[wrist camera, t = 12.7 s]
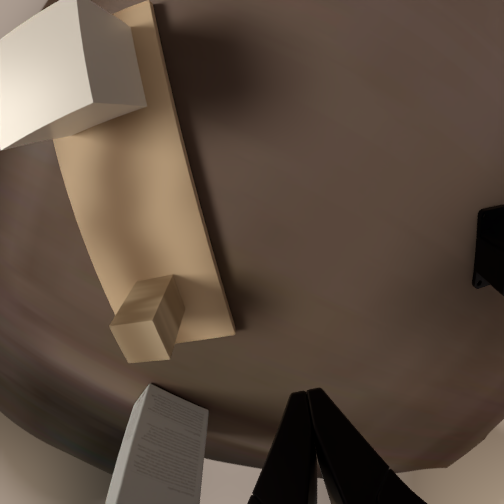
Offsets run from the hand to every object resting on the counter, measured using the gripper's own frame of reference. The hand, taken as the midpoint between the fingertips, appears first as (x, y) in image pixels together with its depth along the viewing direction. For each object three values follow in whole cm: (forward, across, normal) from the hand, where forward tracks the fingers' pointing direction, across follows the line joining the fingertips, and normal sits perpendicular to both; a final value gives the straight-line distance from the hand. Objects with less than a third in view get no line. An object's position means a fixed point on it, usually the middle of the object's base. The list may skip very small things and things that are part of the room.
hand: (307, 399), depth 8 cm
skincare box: (+13, +12, +14) cm, 22 cm away
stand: (+12, +8, -5) cm, 16 cm away
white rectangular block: (+12, +8, -12) cm, 19 cm away
